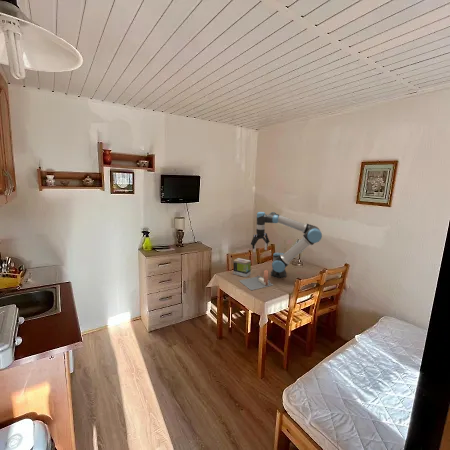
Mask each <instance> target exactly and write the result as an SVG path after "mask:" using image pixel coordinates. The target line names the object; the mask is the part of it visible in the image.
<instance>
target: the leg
mask: <svg viewBox="0 0 450 450" xmlns="http://www.w3.org/2000/svg"><path fill="white" fill-rule="evenodd" d="M263 278H264V279H263ZM268 280H269V269H264V270H263V277H262V278H258V281H259V282H261V283H262V284H264V285H269V282H268Z"/></svg>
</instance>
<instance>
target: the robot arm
mask: <svg viewBox="0 0 450 450" xmlns="http://www.w3.org/2000/svg"><path fill="white" fill-rule="evenodd" d="M265 224H281V225H283V226H286V227H289V228H291V229H295V230H297V231H300V232H302V233H303V235H302V238H301V239H300V240H299V241H297V242H296V243H294V245H292V246H291V247H290V248H289V249H288V250H287V251H286V252H274V253H273V255H272V257H273V259H272V263H271V267H272V269H271V271H270V276H271V277H272V278H275V279H284V278H286V277H287V272H286V267H288V266H289V265H290V262H291V261H292V260H294V258H296V257H297V256H298V255H300V254H301V253H302V252H303V251H304V250H306V249H307V248H308V247H309V246H313V245H314V244H316V243H318V242H320V241H321V240H322V237H323V236H322V235H323V234H322V231H321V229H320V228H319V227H318V226H316V225H314V224H309V223H307V222H306V223H303V222H301V221H298V220H295V219H293V218H290V217H286V216H283V215H281V214H279V213H277V212H274V211H272V212H270V213H269V214H266V212H265V211H258V212H257V213H256V230H255V232H256V234H253V237H252V239H251V242H250V246H251V247H252V252H253V253H256V244H257V242H258V241H259V240H263V241H264V250H265V251H267V250H268V246H269V245H268V244H269V243H270V239H269V237H268V233H266V232H265V231H266V230H265V227H266V225H265Z"/></svg>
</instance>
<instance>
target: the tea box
mask: <svg viewBox="0 0 450 450" xmlns="http://www.w3.org/2000/svg"><path fill="white" fill-rule="evenodd" d="M232 261H233V264H232V265H233V268H232V270H233V273H232V274H233V275H237V276H240V277H245V278H247V277H248V276H250V275H251V274H252V273H251V272H252V266H251V265H252V260H250V259H244V258H241V257H237V258H236V259H234V260H232Z"/></svg>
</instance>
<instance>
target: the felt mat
mask: <svg viewBox="0 0 450 450" xmlns="http://www.w3.org/2000/svg"><path fill="white" fill-rule="evenodd" d="M258 276H259V278H263V277H262V276H260V275H258ZM238 282H240V283H241V284H242V285H243V286H245V288H247V289H248V290H250V291H251V292H252V291H256V290H259V289H264V288H268V287H272V286H274V284H273V283H271V282H270V283H269V285H264V284H262V283H261V282H259V281H258V280H257V276H255V277H250V278H249V277H248V278H245V279H240V280H238Z"/></svg>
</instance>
